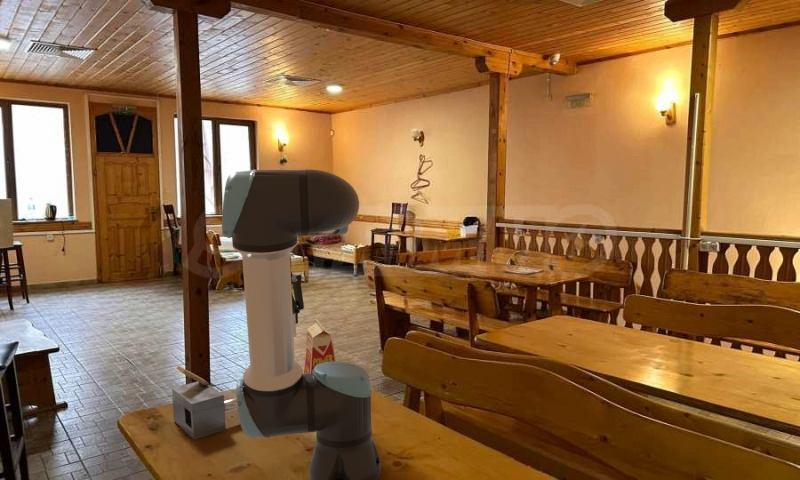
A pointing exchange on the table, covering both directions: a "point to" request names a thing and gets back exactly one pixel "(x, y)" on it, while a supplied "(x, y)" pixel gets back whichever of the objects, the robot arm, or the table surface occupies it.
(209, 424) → the block
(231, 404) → the pin
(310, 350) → the milk carton
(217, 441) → the table surface
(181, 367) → the tan rectangular plate
